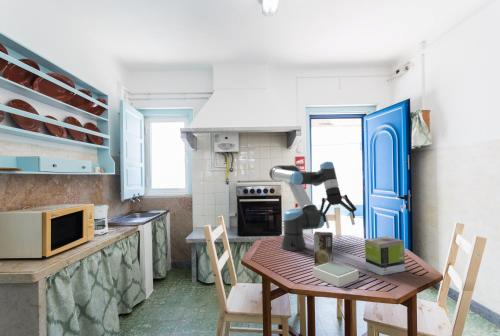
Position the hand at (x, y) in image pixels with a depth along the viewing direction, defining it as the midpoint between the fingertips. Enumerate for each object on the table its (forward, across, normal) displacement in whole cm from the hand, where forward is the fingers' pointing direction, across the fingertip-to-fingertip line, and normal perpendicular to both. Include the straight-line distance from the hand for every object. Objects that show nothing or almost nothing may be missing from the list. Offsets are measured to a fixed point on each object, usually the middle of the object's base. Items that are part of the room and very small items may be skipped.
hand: (340, 226), depth 148 cm
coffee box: (+18, -14, -3) cm, 23 cm away
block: (+24, -12, -18) cm, 32 cm away
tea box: (+24, +14, -8) cm, 29 cm away
